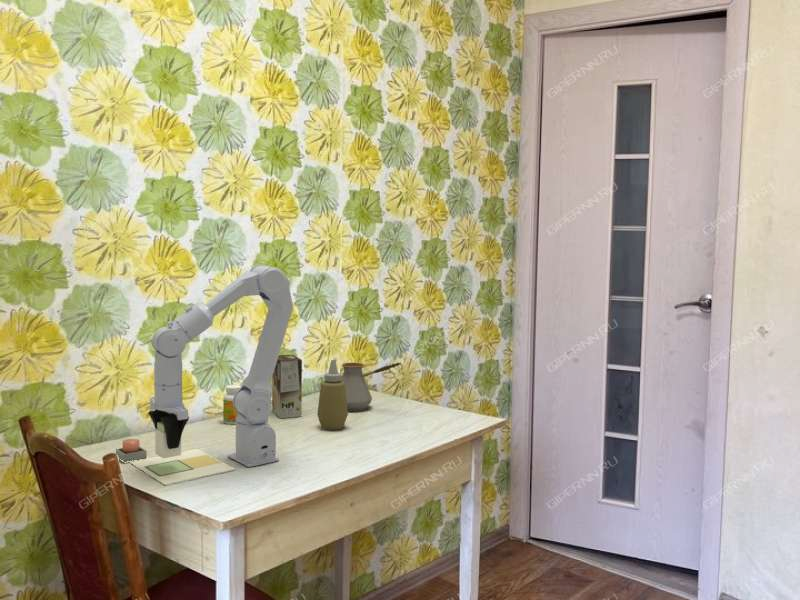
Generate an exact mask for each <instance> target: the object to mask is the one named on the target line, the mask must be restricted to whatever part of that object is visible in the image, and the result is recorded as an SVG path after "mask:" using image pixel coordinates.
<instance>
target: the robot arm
mask: <svg viewBox="0 0 800 600" xmlns="http://www.w3.org/2000/svg"><path fill="white" fill-rule="evenodd" d="M290 286H291V281H290V280H289V277H287V275H286V274H285V271H283V270H282V269H281V268H279V267H276V266H267V265H265V264H257V265H254V266H252V267H251V268H250V269H249V270H246V271H244V272H243V273H241V274H240V275H239V276H238V277H237V278H236V279H234V280H233V281H232V282H231V283H229V284H228V285H227V286H226V287H225V288H223V289H222V290H221V291H220V292H219V293H217V294H216V295H215V296H213V297H212V298H211V299H210V300H208V301H207V302H206V303H205V304H203V305H202V304H198V303H197V304H194V305H193V306H192V305H187V307H185V309H184V310H185V312H183V313H182V314H181V315H179V316H178V317H176V318H175V319H174V320H169V321H168V322H166V324H167V326H163V327H160V328H158V329H157V330H155V332H154V333H153V335H152V338H151V340H150V342H151V346H152V347H153V349H154V350H155V351H154V363H153V368H154V369H153V371H154V373H153V375H154V380H153V381H154V382H153V383H154V387H153V388H154V396H153V397H149V406H148V407H149V408H148V409H150V410H149V412H148V416H149V417H150V419H151V421H152V423H153V426H154V430H155V429H157V422H162V423H163V425H164V428H165V432H166V440H167V446H168V448H169V449H173V448H178V447H179V444H180V440H181V441H182V435H183V432H184V429H185V427H186V425H187V423H188V421H189V420H190V417H189V410H188V409H187V408H186V406H185V404H184V402H183V360H182V354H183V352H184V350H185V348H186V346H187V345H186V344H188V343H190V342H191V341H194V340H195V339H196V338H197V337H198V336H200V335H201V334H203V333H204V332H205V331H206V330H208V329H209V328H210V327H212V326H213V322H214V318H215V316H217V315H219V314H220V313H221V312H223V311H225V310H226V309H227V308H228V307H230V306H232V305H233V304H235V303H236V302H237V301H239V300H240V299H243V297H250V296H259V297H260V298H261V299H262V301H263V303H264V304H265V307H267V314H266V316H265V320H264V324H263V326H262V329H261V331H260V332H261V334H260V336H259V339H258V341H257V346H256V348H255V353H254V355H253V358H252V361H251V366H250V368H249V372H248V375H246V377H245V378H244V379H243V380H242V382H241V385H240V386H241V387H240V389H239V390H238V391H237V392H236V394H235V395H234V398H233V406H234V408H235V410H236V411H237V412H238V414H237V417H236V424H235V453H229V454H228V455H227V457H228V458H230V459H232V460H234V461H235V462H237V463H240V464H242V465H244V466H246V467H249V468H251V467H256V466H260V465H265V464H269V463H273V462H277V461H278V462H279V461H280V458H279V457H278V456H277V457H276V455H277V454H276V453H277V451H276V447H277V442H276V441H277V434H276V431H275V430H274V428H273V427H271V426H270V424H269V417H270V415H271V413H272V402H271V401H272V376H273V373H274V369H275V366H276V363H277V359H278V356H279V355H280V352H281V348H282V346H283V343H284V340H285V336H286V333H287V329H288V326H289V323H290V320H291V316H292V314H293V309H294V304H293V299H292V294H291V290H290Z"/></svg>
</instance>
